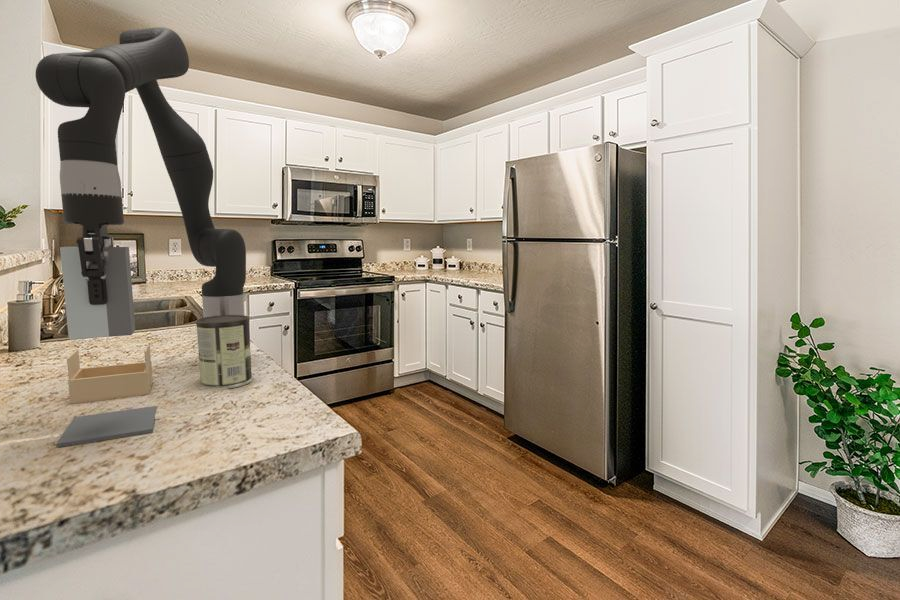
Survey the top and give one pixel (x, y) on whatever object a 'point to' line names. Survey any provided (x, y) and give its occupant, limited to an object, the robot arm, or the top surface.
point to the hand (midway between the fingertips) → (101, 301)
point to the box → (119, 307)
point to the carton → (108, 379)
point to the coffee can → (224, 351)
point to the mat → (108, 426)
